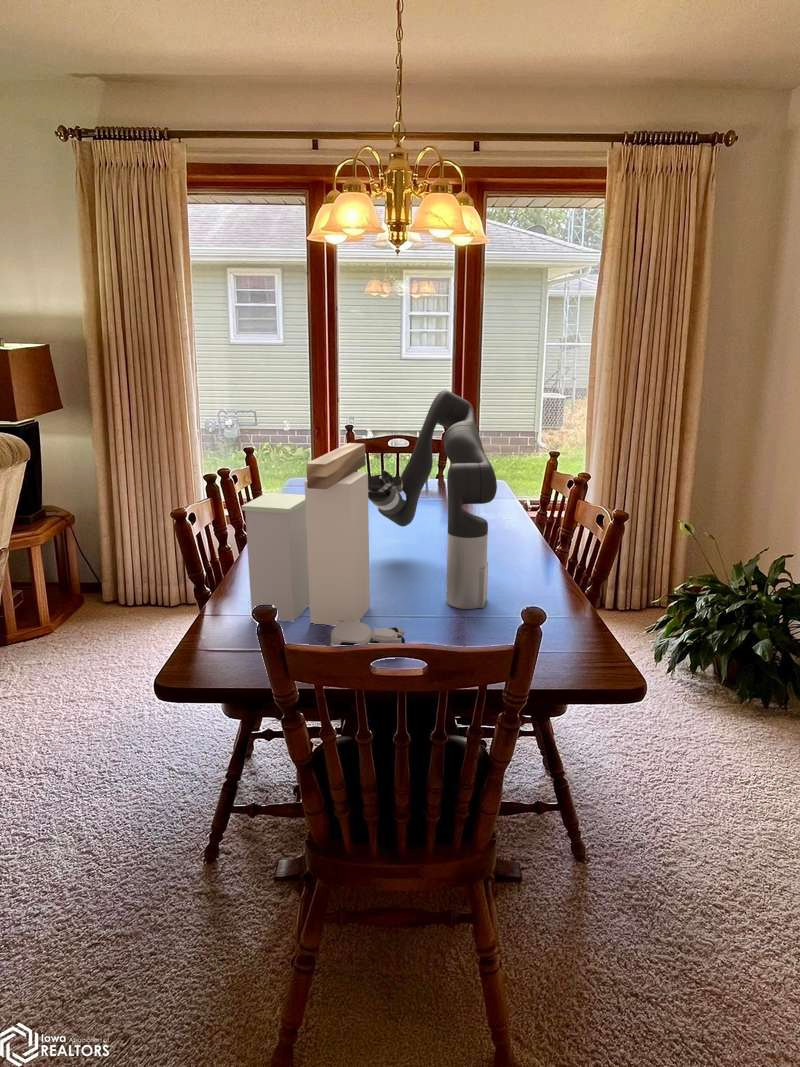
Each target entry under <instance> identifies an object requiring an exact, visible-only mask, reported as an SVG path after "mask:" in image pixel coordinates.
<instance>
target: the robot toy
mask: <svg viewBox="0 0 800 1067" xmlns="http://www.w3.org/2000/svg"><path fill="white" fill-rule="evenodd" d="M337 620H338V621H339V622H341V623H339V624H338V625H336V626H335V627H334V626H333V629H331V631H330V643H329V645H330V646H331V645H354V644H368V643H406V639H405V637H404V636H403V635H404V634H406V632H405V630H404V629H403V628H398V627H396V626H395V627H388V628H382V627H381V628H380V627H379V628H375V629H374V630H372V628H371V627H370V625H368V624H367V623H365V622H361V621H359V622H353V621H342V620H340V619H337Z"/></svg>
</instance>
